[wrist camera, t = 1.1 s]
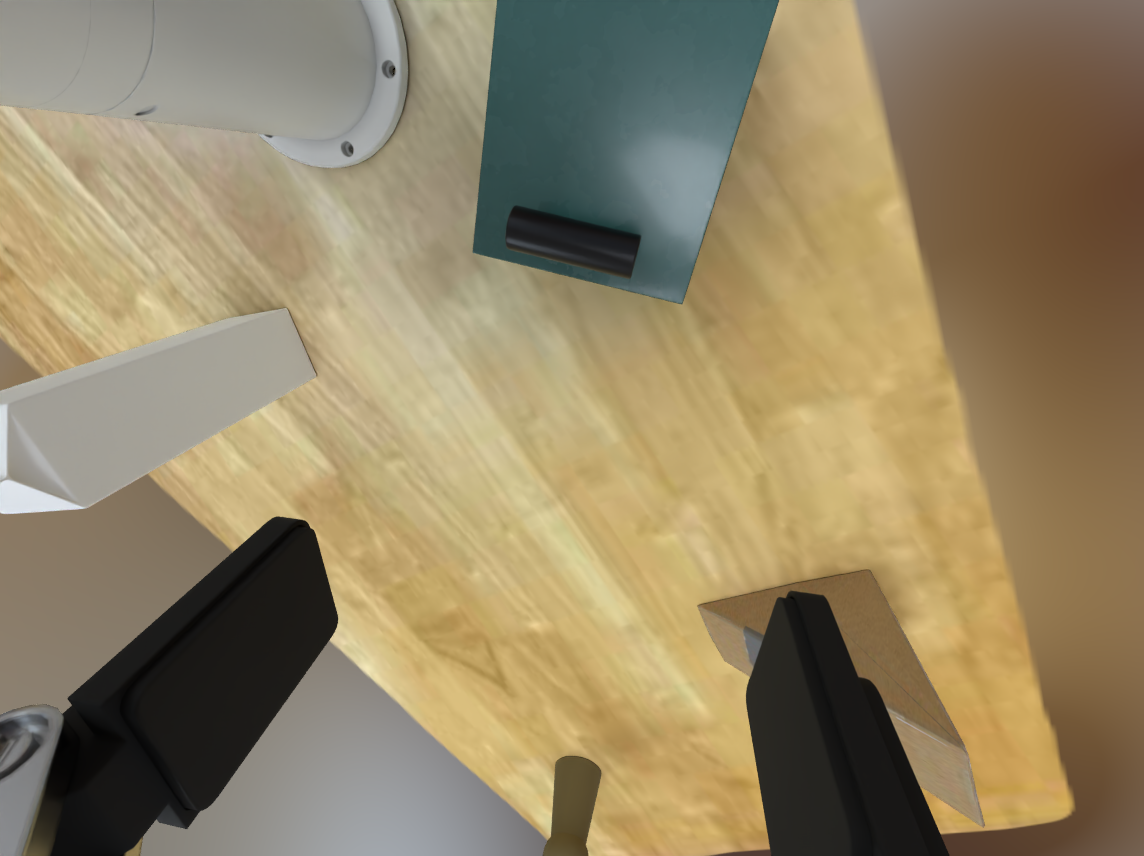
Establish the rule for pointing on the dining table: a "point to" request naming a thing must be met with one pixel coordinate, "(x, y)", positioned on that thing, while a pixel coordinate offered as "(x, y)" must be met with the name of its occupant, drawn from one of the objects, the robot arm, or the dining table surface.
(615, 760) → the dining table surface
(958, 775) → the sandwich container
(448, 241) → the dining table surface
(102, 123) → the dining table surface
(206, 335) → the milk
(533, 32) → the lid
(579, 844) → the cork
